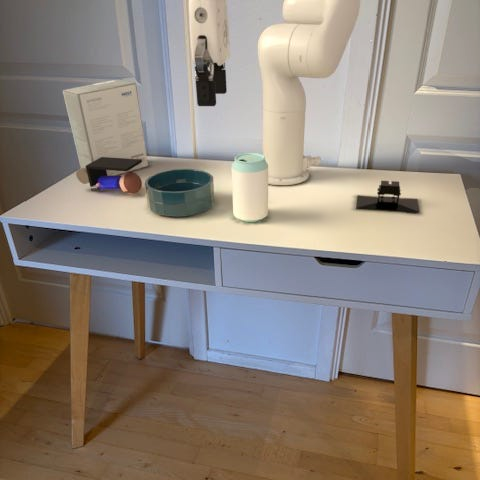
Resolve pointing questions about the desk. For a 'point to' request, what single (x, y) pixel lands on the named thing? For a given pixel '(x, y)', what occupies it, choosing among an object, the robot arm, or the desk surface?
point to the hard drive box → (106, 122)
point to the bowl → (180, 192)
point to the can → (250, 187)
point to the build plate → (388, 200)
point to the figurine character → (98, 176)
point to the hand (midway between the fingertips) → (212, 99)
